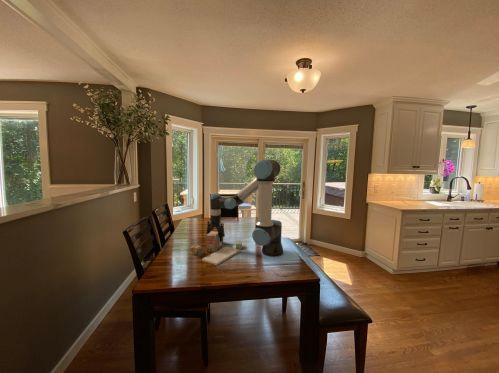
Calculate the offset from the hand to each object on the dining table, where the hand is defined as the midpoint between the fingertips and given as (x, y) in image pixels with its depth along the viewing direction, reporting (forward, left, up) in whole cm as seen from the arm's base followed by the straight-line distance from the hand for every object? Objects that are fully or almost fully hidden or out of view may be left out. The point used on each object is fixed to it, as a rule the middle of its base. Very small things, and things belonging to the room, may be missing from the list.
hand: (215, 244), depth 170 cm
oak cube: (+4, +17, -2) cm, 18 cm away
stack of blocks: (0, 0, -2) cm, 2 cm away
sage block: (-15, -9, -2) cm, 18 cm away
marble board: (-14, +10, -2) cm, 17 cm away
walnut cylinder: (-3, +18, -2) cm, 18 cm away
